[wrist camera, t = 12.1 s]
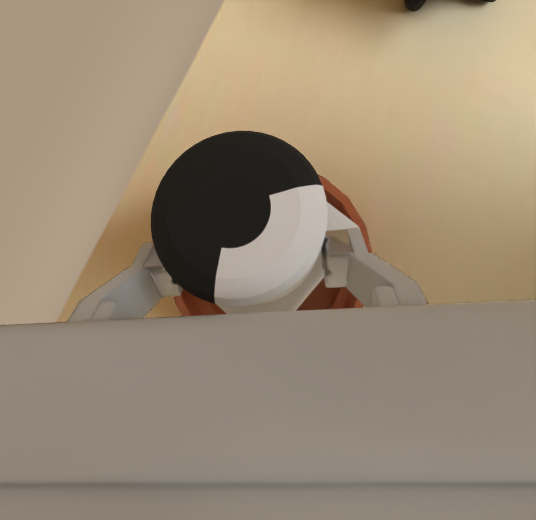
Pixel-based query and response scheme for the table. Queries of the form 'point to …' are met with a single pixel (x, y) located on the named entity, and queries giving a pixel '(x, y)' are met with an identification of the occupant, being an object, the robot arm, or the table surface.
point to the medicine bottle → (243, 223)
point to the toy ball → (414, 3)
